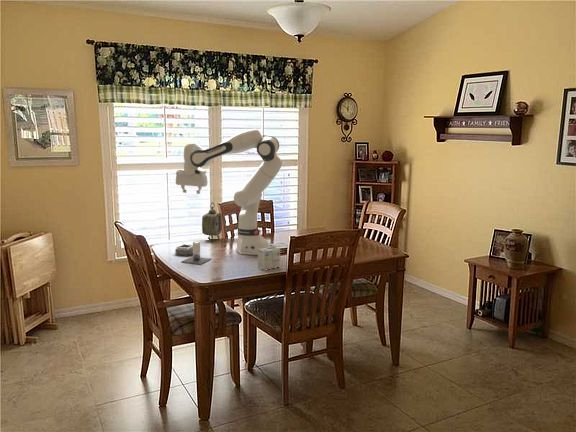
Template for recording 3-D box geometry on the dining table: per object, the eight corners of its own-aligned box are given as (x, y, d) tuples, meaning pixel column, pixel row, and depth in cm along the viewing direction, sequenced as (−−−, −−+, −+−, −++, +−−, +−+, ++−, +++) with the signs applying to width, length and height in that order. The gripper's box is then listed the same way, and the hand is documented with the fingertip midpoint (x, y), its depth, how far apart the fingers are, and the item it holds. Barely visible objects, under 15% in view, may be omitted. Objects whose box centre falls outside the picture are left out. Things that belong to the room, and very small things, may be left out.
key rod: (201, 259, 286) (201, 242, 284) (198, 261, 282) (197, 243, 281) (195, 258, 287) (195, 241, 286) (191, 260, 284) (191, 242, 282)
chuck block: (199, 252, 304) (199, 245, 304) (189, 257, 293) (189, 249, 292) (182, 250, 308) (182, 243, 307) (171, 254, 297) (171, 247, 296)
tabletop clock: (214, 242, 331) (214, 204, 327) (201, 241, 333) (201, 203, 329) (221, 237, 345) (221, 201, 341) (209, 236, 347) (209, 200, 343)
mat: (211, 259, 289) (211, 258, 288) (200, 264, 277) (200, 263, 277) (192, 257, 292) (192, 256, 292) (181, 262, 281) (181, 261, 281)
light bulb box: (272, 265, 281) (273, 246, 279) (280, 267, 276) (280, 248, 274) (257, 268, 274) (257, 248, 272) (264, 271, 269) (264, 251, 267)
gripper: (173, 169, 307) (173, 192, 309) (203, 171, 300) (203, 194, 303) (179, 169, 313) (179, 191, 315) (208, 170, 306) (208, 193, 309)
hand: (191, 193), depth 309 cm, fingers open, 8 cm apart
